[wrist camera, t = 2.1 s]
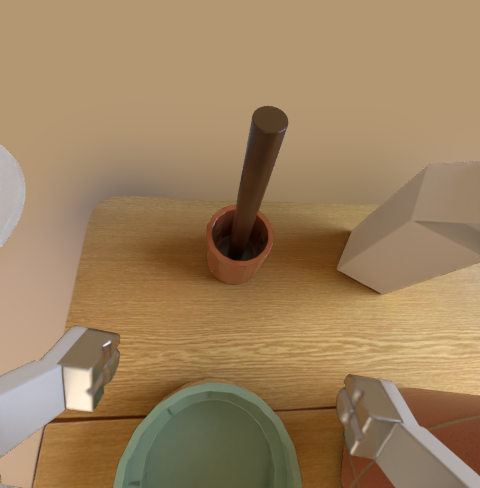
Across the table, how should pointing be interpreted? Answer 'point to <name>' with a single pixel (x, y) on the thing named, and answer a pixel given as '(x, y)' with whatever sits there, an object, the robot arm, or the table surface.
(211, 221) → the crock
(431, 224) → the milk carton
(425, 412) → the planter
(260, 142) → the stirring stick
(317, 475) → the table surface
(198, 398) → the bowl
